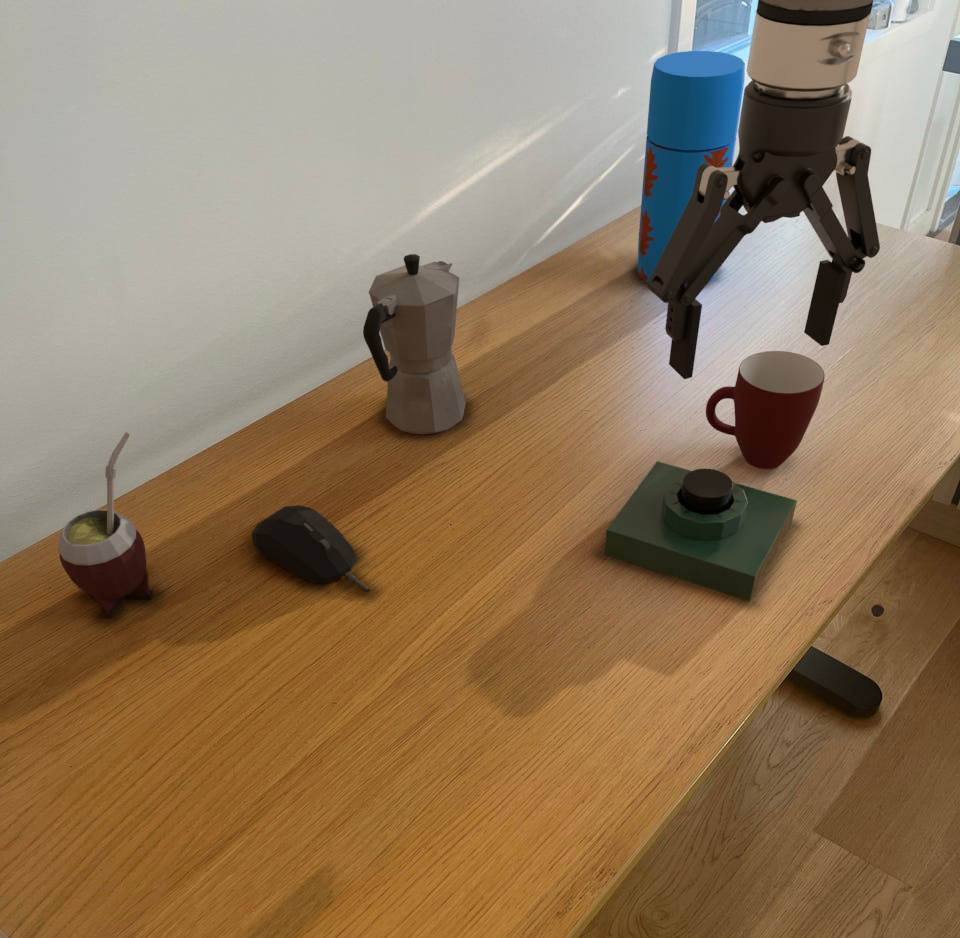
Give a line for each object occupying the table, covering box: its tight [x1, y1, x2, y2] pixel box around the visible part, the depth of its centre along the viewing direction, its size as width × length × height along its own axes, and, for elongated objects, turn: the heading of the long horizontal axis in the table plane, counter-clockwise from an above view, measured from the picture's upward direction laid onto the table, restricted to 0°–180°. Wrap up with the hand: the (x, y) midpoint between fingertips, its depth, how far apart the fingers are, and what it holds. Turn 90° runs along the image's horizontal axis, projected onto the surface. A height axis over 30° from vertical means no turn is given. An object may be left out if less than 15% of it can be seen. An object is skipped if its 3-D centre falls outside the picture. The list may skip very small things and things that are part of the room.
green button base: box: [604, 460, 798, 602], centre depth 87 cm, size 14×12×5 cm
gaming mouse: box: [251, 504, 371, 593], centre depth 88 cm, size 6×15×4 cm, turn 48°
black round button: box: [680, 468, 734, 515], centre depth 85 cm, size 4×4×2 cm
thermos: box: [637, 50, 746, 285], centre depth 119 cm, size 11×11×25 cm
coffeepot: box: [362, 253, 467, 435], centre depth 99 cm, size 15×9×18 cm, turn 150°
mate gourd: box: [57, 431, 155, 619], centre depth 82 cm, size 8×8×15 cm
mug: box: [705, 350, 826, 470], centre depth 94 cm, size 10×8×10 cm
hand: (749, 354), depth 82 cm, fingers open, 13 cm apart
